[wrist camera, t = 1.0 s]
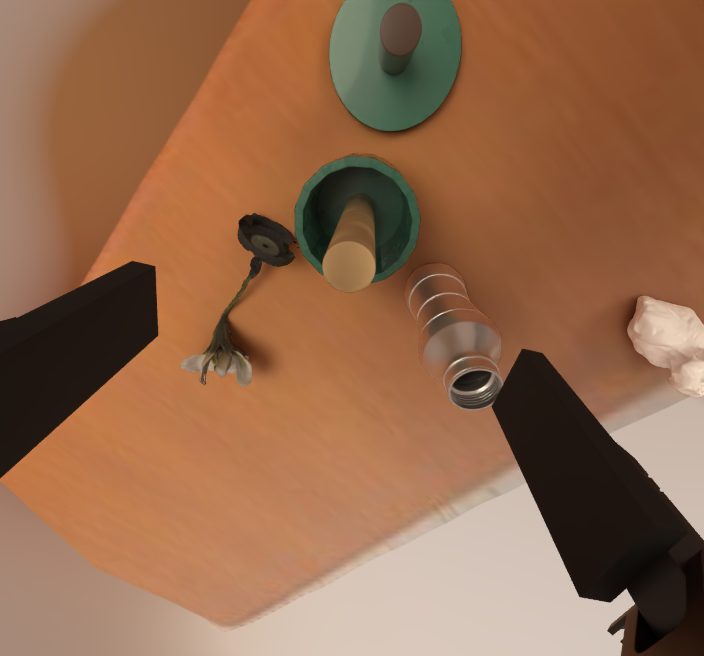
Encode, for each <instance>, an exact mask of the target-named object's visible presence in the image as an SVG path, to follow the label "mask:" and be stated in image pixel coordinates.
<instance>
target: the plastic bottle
mask: <svg viewBox="0 0 704 656" xmlns="http://www.w3.org/2000/svg"><path fill="white" fill-rule="evenodd" d="M404 300H405V303H406V306H407V307H408V309H409V311H410V312H411V314H412V315H413V316H414V318H415V320H416V322H417V327H418V354H419V359H420V362H421V365H422V366H423V368H424V369H425V370H426V371H427V372H428V374H429V375H431V376H432V377H433V378H434V379H436V380H437V381H439V382H441V383H443V385H444V388H445V389H446V391H447V394H448V397H449V399H450V401H451V402H452V403H453V404H454V405H455V406H456V407H458V408H460V409H463V410H468V411H475V410H481V409H484V408H487V407H489V406H491V405H492V404H493V403H494V401H495V399H496V397H497V395H498V393H499V391H500V390H501V388H502V386H503V380H502V377H501V375H500V372H499V368H498V366H497V364H498V362H499V360H500V357H501V354H502V341H501V336H500V333H499V331H498V329H497V327H496V326H495V325H494V324H493V323H492V322H491V321H490V320H489V318H487V317H486V316H485V315H484V314H482V313H481V312H480V311H479V310H478V309H476V308H475V306H474V305H473V304H472V303H471V302H470V300H469V298H468V296H467V292H466V287H465V283H464V280H463V278H462V276H461V275H460V274H459V273H458V272H457V271H456V270H455V269H453V268H451V267H450V266H447V265H445V264H441V263H431V264H426V265H424V266H421V267H420V268H418V269H417V270H415V271H414V272H413V273H412V274H411V275H410V277H409V278H408V280H407V283H406V286H405V291H404Z"/></svg>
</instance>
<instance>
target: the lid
mask: <svg viewBox="0 0 704 656" xmlns="http://www.w3.org/2000/svg"><path fill="white" fill-rule="evenodd" d="M460 55H461V32H460V25H459V21H458V17H457V14H456V11H455V8H454V6H453V4H452V2H451V0H344V2H343V4H342V6H341V7H340V9H339V12H338V14H337V16H336V19H335V22H334V25H333V28H332V32H331V38H330V46H329V64H330V71H331V76H332V80H333V83H334V86H335V89H336V92H337V94H338V96H339V98H340V100H341V101H342V103H343V104H344V106H345V107H346V108H347V110H348V111H349V112H350V113H351V114H352V115H353V116H354V117H355V118H356V119H357V120H359V121H360V122H362V123H363V124H365V125H367V126H369V127H371V128H374V129H377V130H382V131H399V130H404V129H407V128H411V127H413V126H415V125H417V124H419V123H421V122H422V121H424V120H425V119H427V118H428V117H429V116H430V115H431V114H433V113H434V112H435V111H436V109H437V108H438V107H439V106H440V105H441V104H442V102H443V101H444V100H445V98H446V96H447V95H448V93H449V91H450V89H451V87H452V85H453V83H454V80H455V77H456V74H457V71H458V67H459V62H460Z"/></svg>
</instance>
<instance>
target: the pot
mask: <svg viewBox="0 0 704 656" xmlns="http://www.w3.org/2000/svg"><path fill="white" fill-rule="evenodd" d="M355 194H365V195H367V196H368V197H370V199H371V200H372V202H373V204H374V222H375V256H376V271H375V275H374V278H373V280H372V281H371V283H374V282H378V281H381V280H384V279H386V278H388V277H389V276H390V275H392V274H393V273H394V272H395V271H397V270H398V269H399V268H401V267H402V266H403V265H404V264H405V263H406V261H407V259H408V258H409V256H410V254H411V253H412V251H413V249H414V248H415V246H416V243H417V239H418V233H419V226H420V220H421V219H420V213H419V209H418V205H417V201H416V197H415V194H414V192H413V190H412V189H411V188H410V186H409V185H408V183H407V182H406V181H405V179H404V178H403V177H402V175H401V174H400V173H399V172H398V170H397V169H396V168H395V167H394V166H393V165H392V164H390V163H388V162H386V161H385V160H383V159H381V158H379V157H378V156H376V155H371V154H358V153H354V154H350V155H347V156H345V157H342V158H339V159H337V160H334V161H332V162H330V163H328V164H326V165H324V166H322V167H321V168H320V169H319V170H318V171H317V172H316V173H315V174H314V175H313V176H312V177H311V178H310V179H309V180H308V181H307V182H306V183H305V185H304V186H303V189H302V191H301V194H300V196H299V199H298V201H297V204H296V206H295V235H296V238H297V240H298V243H299V245H300V248H301V250H302V253H303V255H304V256H305V258H306V259H307V260H308V261H309V262H310V263H311V264H312V265H313V266H314V267H315V269H316V270H317V271H318V272H319V273H321V274H322V275H324V274H323V269H322V263H323V259H324V256H325V254H326V251H327V249H328V246H329V244H330V242H331V239H332V237H333V235H334V232H335V230H336V227H337V225H338V223H339V220H340V218H341V215H342V213H343V211H344V208H345V206H346V204H347V201H348V200H349V198H350V197H352V196H353V195H355ZM371 283H370V284H371Z"/></svg>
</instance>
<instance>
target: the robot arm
mask: <svg viewBox="0 0 704 656" xmlns="http://www.w3.org/2000/svg"><path fill="white" fill-rule="evenodd" d="M157 336H158V318H157V295H156V271H155V266H152V265H148V264H143V263H139V262H135V261H131V262H129V263H127V264H125V265H123V266H121V267H119V268H117V269H115V270H113V271H111V272H109V273H107V274H105V275H103V276H101V277H99V278H97V279H95V280H93V281H91V282H89V283H87V284H85V285H83V286H81V287H79V288H77V289H75V290H73V291H71V292H69V293H67V294H65V295H63V296H60V297H58V298H56V299H54V300H52V301H50V302H49V303H46V304H44V305H42V306H40V307H39V308H36V309H34V310H32V311H30V312H28V313H26V314H24V315H22V316H20V317H18V318H16V317H14V318H11V319H7V320H3V321H0V478H1V477H2V476H4V475H5V474H6V473H7V472H8V471H9V470H10V469H11V468H12V467H13V466H15V465H16V464H17V463H18V462H19V461H20V460H21V459H22V458H23V457H25V456H26V455H27V454H28V453H29V452H30V451H31V450H32V449H33V448H34V447H36V446H37V445H38V444H39V443H40V442H41V441H42V440H43V439H44V438H46V437H47V436H48V435H49V434H50V433H51V432H52V431H53V430H54V429H55V428H57V427H58V426H59V425H60V424H61V423H62V422H63V421H64V420H65V419H67V418H68V417H69V416H70V415H71V414H72V413H73V412H74V411H75V410H76V409H78V408H79V407H80V406H81V405H82V404H83V403H84V402H85V401H86V400H87V399H89V398H90V397H91V396H92V395H93V394H94V393H95V392H96V391H97V390H99V389H100V388H101V387H102V386H103V385H104V384H105V383H106V382H107V381H108V380H110V379H111V378H112V377H113V376H114V375H115V374H116V373H117V372H118V371H120V370H121V369H122V368H123V367H124V366H125V365H126V364H127V363H128V362H129V361H131V360H132V359H133V358H134V357H135V356H136V355H137V354H138V353H139V352H141V351H142V350H143V349H144V348H145V347H146V346H147V345H148V344H149V343H150V342H152V341H153V340H154V339H155V338H156V337H157ZM492 408H493V411H494V413H495V415H496V417H497V419H498V421H499V424H500V426H501V428H502V430H503V432H504V434H505V437H506V439H507V441H508V443H509V445H510V447H511V450H512V452H513V454H514V456H515V458H516V460H517V463H518V465H519V467H520V469H521V471H522V473H523V476H524V478H525V480H526V482H527V484H528V486H529V489H530V491H531V493H532V495H533V497H534V500H535V502H536V504H537V506H538V508H539V510H540V512H541V515H542V517H543V519H544V521H545V523H546V526H547V528H548V530H549V532H550V534H551V536H552V538H553V541H554V543H555V545H556V547H557V549H558V552H559V554H560V556H561V558H562V560H563V562H564V565H565V567H566V569H567V571H568V573H569V575H570V577H571V580H572V582H573V584H574V586H575V589H576V590H577V593H578V595H579V597H582V598H588V599H593V600H599V601H604V602H612V601H613V600H614V599H615V598H616V597H617V596H618V595H619V594H621V593H622V592H623V591H624V590H625V589H626V588H627V590H628V592H629V594H630V595H631V597H632V599H633V600H634V602H635V605H634V606H632V607H631V608H630V609H629V610H628V611H626V612H625V613H624V614H623V615H622V616H620V617H619V618H618V619H617V620H616V621H614V622H613V623H612V624H611V625H610V627H609V629H608V632H609V633H611V634H612V635H614V634H615V633H616V632H617V631H619V630H620V629H625V630H624V637H623V639H622V640H621V643H622V644H623V645H622V652H621V656H704V540H703V539H702V538H701V537H700V535H699V534H698V533H697V532H696V531H695V529H694V528H693V527H692V526H691V525H690V523H689V522H688V521H687V520H686V519H685V518H684V516H683V515H682V514H681V513H680V512H679V510H678V509H677V508H676V507H675V506H674V504H673V503H672V502H671V501H670V500H669V499H668V497H667V496H666V495H665V494H664V492H661V491H660V488H659V487H658V485H657V484H656V483H655V482H654V481H653V479H652V478H649V477H648V474H647V472H646V471H645V470H644V469H643V468H642V466H641V465H640V464H639V463H638V462H637V460H636V459H635V458H634V457H633V456H632V455H630V454H629V453H628V452H627V451H626V450H624V449H623V448H622V447H621V446H620V445H618V444H617V443H616V442H615V441H614V440H613V439H612V437H611V436H610V435H609V434H608V433H607V431H606V430H605V429H604V428H603V426H602V425H601V424H600V423H599V422H598V420H597V419H596V418H595V417H594V415H593V414H592V413H591V412H590V411H589V409H588V408H587V407H586V406H585V404H584V403H583V402H582V401H581V400H580V398H579V397H578V396H577V395H576V393H575V392H574V391H573V390H572V389H571V387H570V386H569V385H568V384H567V383H566V381H565V380H564V379H563V378H562V376H561V375H560V374H559V373H558V372H557V370H556V369H555V368H554V367H553V365H552V364H551V363H550V362H549V361H548V359H547V358H546V357H545V356H544V354H543V353H540V352H535V351H531V350H527V349H522V350H521V352H520V354H519V356H518V358H517V360H516V361H515V363H514V365H513V367H512V369H511V371H510V373H509V375H508V376H507V378H506V380H505V382H504V384H503V386H502V388H501V390H500V391H499V393H498V395H497V397H496V399H495V401H494V403H493V405H492Z"/></svg>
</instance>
